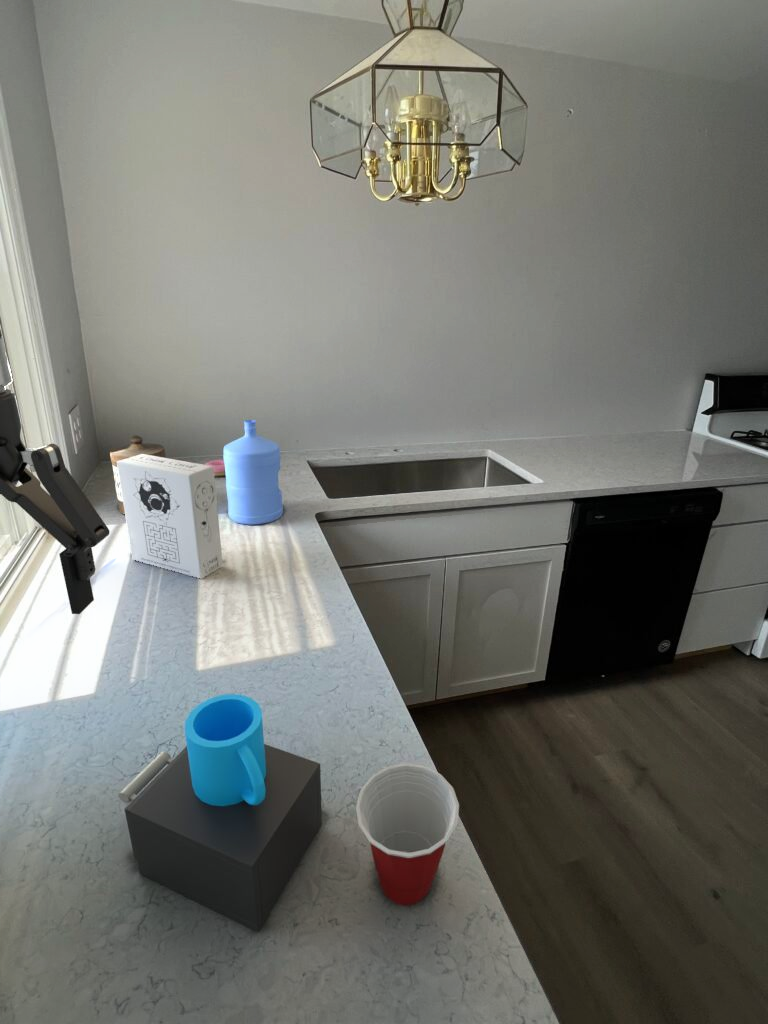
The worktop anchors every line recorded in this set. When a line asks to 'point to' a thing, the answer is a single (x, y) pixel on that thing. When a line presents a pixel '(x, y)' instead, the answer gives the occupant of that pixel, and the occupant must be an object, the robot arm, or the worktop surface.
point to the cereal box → (171, 514)
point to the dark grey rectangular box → (228, 837)
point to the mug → (227, 750)
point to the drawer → (145, 783)
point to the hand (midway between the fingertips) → (16, 604)
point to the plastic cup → (407, 827)
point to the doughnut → (217, 467)
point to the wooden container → (131, 451)
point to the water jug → (253, 478)
